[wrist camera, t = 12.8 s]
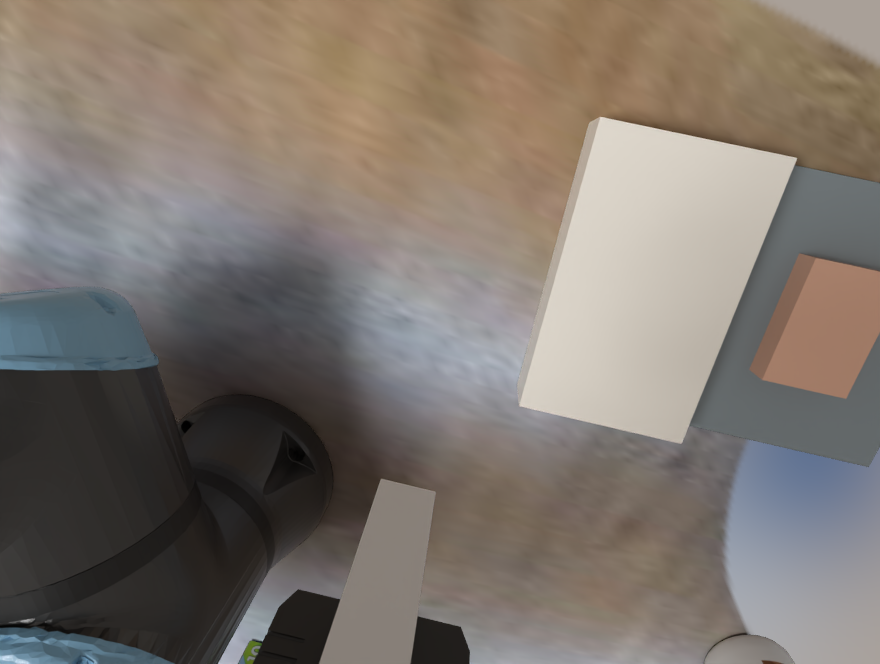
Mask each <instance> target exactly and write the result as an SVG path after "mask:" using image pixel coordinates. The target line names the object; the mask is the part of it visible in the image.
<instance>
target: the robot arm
mask: <svg viewBox="0 0 880 664" xmlns="http://www.w3.org/2000/svg"><path fill="white" fill-rule="evenodd" d="M158 363H159V360H158V357H157V355H156V354H154V353H152V352H151V350H150V347H149V345H148V342H147V340H146V338H145V335H144V333H143V331H142V328H141V326H140V323H139V321H138V318H137V316H136V313H135V311H134V309H133V308H132V306H131V305H130V303H129V302H128V301H127V300H126V299H125V298H124V297H122V296H121V295H119V294H118V293H116V292H114V291H111V290H108V289H105V288H100V287H71V288H56V289H44V290H32V291H22V292H11V293H1V294H0V664H218V662H219V660H220V658H221V657H222V655H223V653H224V651H225V649H226V647H227V646H228V644H229V642H230V640H231V638H232V637H233V635H234V633H235V631H236V629H237V627H238V626H239V624H240V622H241V620H242V618H243V616H244V615H245V613H246V611H247V609H248V607H249V606H250V604H251V602H252V600H253V598H254V596H255V595H256V593H257V591H258V589H259V587H260V585H261V584H262V582H263V580H264V578H265V577H266V575H267V573H268V571H269V570H270V569H271V568H272V567H273V566H274V565H276V564H277V563H278V562H279V561H280V560H282V559H283V558H284V557H285V556H286V555H288V554H289V553H290V552H291V551H292V550H294V549H295V548H296V547H297V546H298V545H300V544H301V543H302V542H303V541H305V540H306V539H307V538H308V537H309V536H310V535H311V533H312V532H313V531H314V530H315V528H316V527H317V525H318V524H319V522H320V520H321V518H322V516H323V514H324V512H325V510H326V508H327V506H328V504H329V501H330V498H331V494H332V489H333V474H332V468H331V463H330V460H329V457H328V454H327V452H326V450H325V448H324V446H323V444H322V442H321V441H320V439H319V438H318V436H317V435H316V434H315V432H314V431H313V430H312V429H311V428H310V427H309V426H308V425H307V424H306V423H305V422H304V421H303V420H302V419H301V418H300V417H298V416H297V415H296V414H294V413H293V412H291V411H290V410H288V409H286V408H285V407H283V406H281V405H279V404H277V403H274V402H272V401H269V400H266V399H263V398H259V397H254V396H247V395H229V396H222V397H218V398H214V399H211V400H209V401H207V402H204V403H203V404H201V405H199V406H198V407H196V408H195V409H193V410H192V411H191V412H190V413H188V414H187V415H186V416H185V417H183V418H182V419H181V420H180V421H179V422H178V423H176V421H175V418H174V415H173V412H172V409H171V406H170V403H169V400H168V398H167V395H166V392H165V389H164V386H163V383H162V380H161V377H160V374H159V372H158V369H157V366H156V365H158ZM435 495H436V492H435V491H431V490H427V489H423V488H419V487H414V486H410V485H406V484H402V483H398V482H393V481H389V480H385V479H381V480H380V483H379V486H378V489H377V492H376V495H375V498H374V501H373V504H372V507H371V510H370V513H369V516H368V519H367V522H366V525H365V528H364V531H363V534H362V537H361V540H360V543H359V546H358V549H357V552H356V555H355V558H354V561H353V564H352V567H351V570H350V573H349V576H348V579H347V582H346V585H345V588H344V591H343V594H342V597H341V600H340V599H336V598H332V597H328V596H323V595H319V594H315V593H311V592H307V591H303V590H299V589H298V590H297V591H296V592H295V593H294V594H292V595H291V596H290V597H289V598H288V599H287V600H286V601H285V602H284V603H283V604H282V605H281V606H280V607H279V608H278V610H277V613H276V615H275V617H274V619H273V621H272V623H271V625H270V627H269V630H268V633H267V635H266V636H265V638H264V640H263V642H262V645H261V647H260V649H259V652H258V654H257V655H256V657H255V659H254V662H253V664H469V657H470V651H469V648H468V645H467V643H466V640H465V637H464V635H463V632H462V629H461V627H459V626H455V625H450V624H446V623H442V622H438V621H434V620H430V619H426V618H421V617H417V616H418V609H419V603H420V596H421V589H422V582H423V576H424V569H425V562H426V555H427V549H428V542H429V535H430V528H431V522H432V515H433V508H434V501H435Z"/></svg>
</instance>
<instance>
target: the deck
mask: <svg viewBox="0 0 880 664" xmlns="http://www.w3.org/2000/svg"><path fill="white" fill-rule="evenodd" d="M796 160H797V158H795V157H790V156H785V155H780V154H775V153H771V152H766V151H761V150H756V149H752V148H747V147H742V146H737V145H732V144H728V143H723V142H718V141H713V140H709V139H704V138H699V137H694V136H689V135H685V134H680V133H675V132H670V131H665V130H661V129H656V128H651V127H646V126H642V125H637V124H632V123H627V122H622V121H618V120H613V119H608V118H603V117H599V118H597V119H595V120H593V121H591V122H590V123H589V125H588V129H587V132H586V136H585V140H584V143H583V147H582V151H581V154H580V158H579V161H578V165H577V169H576V172H575V176H574V180H573V183H572V187H571V191H570V194H569V198H568V201H567V205H566V209H565V212H564V216H563V220H562V223H561V227H560V230H559V234H558V238H557V241H556V245H555V249H554V252H553V256H552V259H551V263H550V267H549V270H548V274H547V278H546V281H545V285H544V289H543V292H542V296H541V299H540V303H539V307H538V310H537V314H536V318H535V321H534V325H533V328H532V332H531V336H530V339H529V343H528V347H527V350H526V354H525V358H524V361H523V365H522V368H521V372H520V376H519V379H518V383H517V389H518V400H519V406H520V407H525V408H529V409H533V410H538V411H542V412H546V413H551V414H555V415H559V416H564V417H568V418H572V419H576V420H581V421H585V422H589V423H594V424H598V425H602V426H607V427H611V428H615V429H620V430H624V431H628V432H632V433H637V434H641V435H645V436H650V437H654V438H658V439H663V440H667V441H671V442H676V443H680V444H682V441H683V439H684V437H685V434H686V432H687V429H688V427H689V424H690V422H691V419H692V417H693V414H694V412H695V409H696V407H697V404H698V402H699V400H700V397H701V395H702V392H703V390H704V387H705V385H706V382H707V380H708V377H709V375H710V372H711V370H712V367H713V365H714V362H715V360H716V358H717V355H718V353H719V350H720V348H721V345H722V343H723V340H724V338H725V335H726V333H727V330H728V328H729V325H730V323H731V321H732V318H733V316H734V313H735V311H736V308H737V306H738V303H739V301H740V298H741V296H742V293H743V291H744V288H745V286H746V284H747V281H748V279H749V276H750V274H751V271H752V269H753V266H754V264H755V261H756V259H757V256H758V254H759V251H760V249H761V246H762V244H763V242H764V239H765V237H766V234H767V232H768V229H769V227H770V224H771V222H772V219H773V217H774V214H775V212H776V209H777V207H778V205H779V202H780V200H781V197H782V195H783V192H784V190H785V187H786V185H787V182H788V180H789V177H790V175H791V172H792V170H793V167H794V165H795V163H796Z"/></svg>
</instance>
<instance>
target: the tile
mask: <svg viewBox="0 0 880 664" xmlns="http://www.w3.org/2000/svg"><path fill="white" fill-rule="evenodd" d="M879 333H880V271H879V270H874V269H870V268H865V267H860V266H856V265H851V264H847V263H842V262H837V261H833V260H828V259H823V258H819V257H814V256H810V255H805V254H800V253H799V255H798V257H797V260H796V262H795V264H794V267H793V269H792V271H791V273H790V276H789V278H788V280H787V283H786V285H785V287H784V290H783V292H782V294H781V297H780V299H779V301H778V304H777V306H776V308H775V311H774V313H773V315H772V318H771V320H770V322H769V325H768V327H767V329H766V332H765V334H764V336H763V339H762V341H761V343H760V346H759V348H758V350H757V352H756V355H755V357H754V359H753V362H752V364H751V366H750V369H749V370H750V371H751V372H753V373H754V374H755V375H757V376H758V377H759V378H760V379H762V380H765V381H769V382H774V383H778V384H782V385H787V386H791V387H796V388H800V389H805V390H809V391H813V392H818V393H822V394H827V395H831V396H836V397H840V398H844V399H846V398H847V396H848V394H849V392H850V390H851V388H852V386H853V384H854V382H855V380H856V378H857V376H858V374H859V372H860V370H861V368H862V366H863V364H864V362H865V360H866V358H867V356H868V355H869V353H870V351H871V349H872V347H873V345H874V343H875V341H876V339H877V337H878V335H879Z"/></svg>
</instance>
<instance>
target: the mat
mask: <svg viewBox="0 0 880 664" xmlns="http://www.w3.org/2000/svg"><path fill="white" fill-rule="evenodd" d="M799 253H800V254H805V255H810V256H814V257H819V258H823V259H828V260H833V261H837V262H842V263H847V264H851V265H856V266H860V267H865V268H870V269H874V270H879V271H880V183H877V182H872V181H868V180H863V179H858V178H853V177H849V176H844V175H839V174H834V173H830V172H825V171H820V170H815V169H810V168H806V167H801V166H796V165H794V167H793V170H792V172H791V175H790V177H789V180H788V182H787V185H786V187H785V190H784V192H783V195H782V197H781V200H780V202H779V205H778V207H777V209H776V212H775V214H774V217H773V219H772V222H771V224H770V227H769V229H768V232H767V234H766V237H765V239H764V242H763V244H762V246H761V249H760V251H759V254H758V256H757V259H756V261H755V264H754V266H753V269H752V271H751V274H750V276H749V279H748V281H747V284H746V286H745V288H744V291H743V293H742V296H741V298H740V301H739V303H738V306H737V308H736V311H735V313H734V316H733V318H732V321H731V323H730V325H729V328H728V330H727V333H726V335H725V338H724V340H723V343H722V345H721V348H720V350H719V353H718V355H717V358H716V360H715V362H714V365H713V367H712V370H711V372H710V375H709V377H708V380H707V382H706V385H705V387H704V390H703V392H702V395H701V397H700V400H699V402H698V404H697V407H696V409H695V412H694V414H693V417H692V419H691V422H690V424H689V426H693V427H697V428H701V429H706V430H710V431H714V432H719V433H723V434H727V435H732V436H736V437H740V438H745V439H749V440H753V441H758V442H763V443H767V444H771V445H775V446H779V447H784V448H788V449H792V450H797V451H801V452H805V453H810V454H814V455H818V456H823V457H827V458H831V459H836V460H841V461H845V462H849V463H853V464H858V465H862V466H866V467H869V465H870V464H871V462H872V460H873V458H874V456H875V454H876V453H877V451H878V449H879V447H880V333H879V335H878V337H877V339H876V341H875V343H874V345H873V347H872V349H871V351H870V353H869V355H868V356H867V358H866V360H865V362H864V364H863V366H862V368H861V370H860V372H859V374H858V376H857V378H856V380H855V382H854V384H853V386H852V388H851V390H850V392H849V394H848V396H847V398H846V399H844V398H840V397H836V396H831V395H827V394H822V393H818V392H813V391H809V390H805V389H800V388H796V387H791V386H787V385H782V384H778V383H774V382H769V381H765V380H762V379H760V378H759V377H758V376H757V375H755V374H754V373H753V372H751V371H750V370H749V369H750V366H751V364H752V362H753V359H754V357H755V355H756V352H757V350H758V348H759V346H760V343H761V341H762V339H763V336H764V334H765V332H766V329H767V327H768V325H769V322H770V320H771V318H772V315H773V313H774V311H775V308H776V306H777V304H778V301H779V299H780V297H781V294H782V292H783V290H784V287H785V285H786V283H787V280H788V278H789V276H790V273H791V271H792V269H793V267H794V264H795V262H796V260H797V257H798V255H799Z"/></svg>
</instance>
